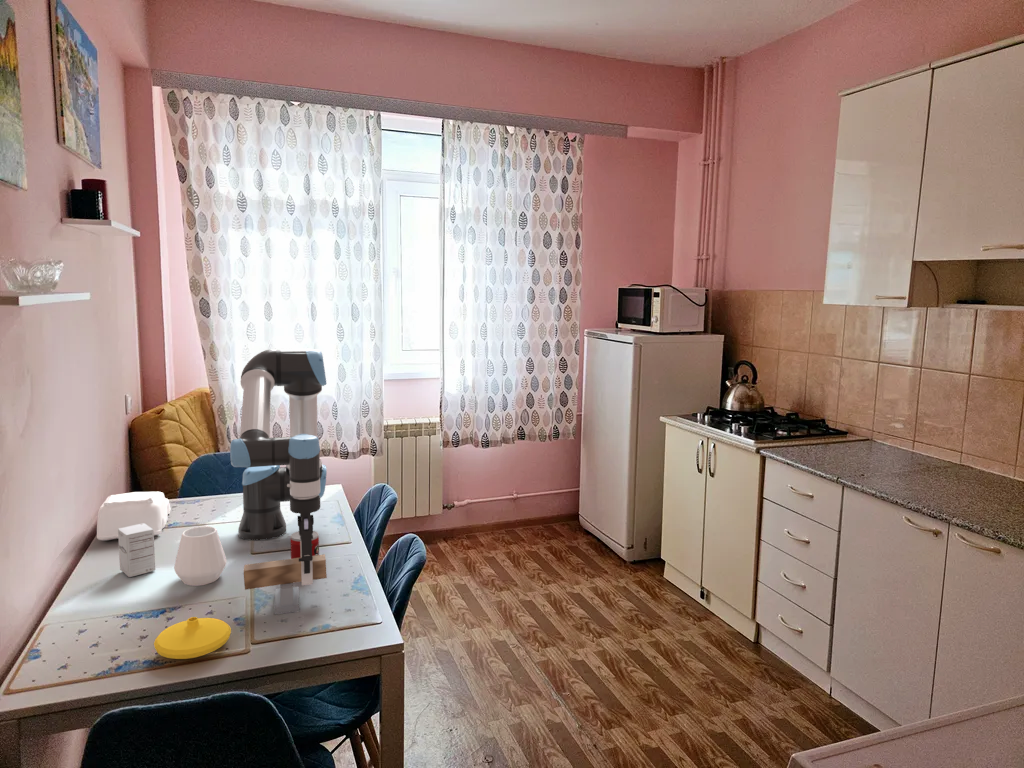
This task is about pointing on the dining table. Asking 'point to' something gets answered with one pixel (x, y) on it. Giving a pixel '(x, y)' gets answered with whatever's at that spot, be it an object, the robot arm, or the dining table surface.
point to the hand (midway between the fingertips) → (306, 573)
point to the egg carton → (132, 513)
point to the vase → (192, 638)
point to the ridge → (286, 599)
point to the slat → (281, 572)
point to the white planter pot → (200, 556)
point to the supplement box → (136, 549)
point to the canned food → (296, 545)
